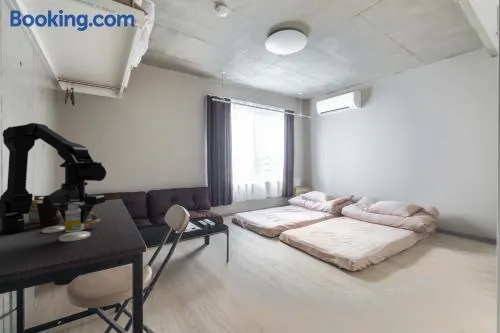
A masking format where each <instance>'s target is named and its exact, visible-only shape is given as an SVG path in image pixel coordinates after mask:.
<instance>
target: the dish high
mask: <svg viewBox="0 0 500 333" xmlns="http://www.w3.org/2000/svg"><path fill="white" fill-rule="evenodd" d="M62 231H65V225H54V226H47V227H43V229H42V228H41V233H43V234H54V233H59V232H62Z"/></svg>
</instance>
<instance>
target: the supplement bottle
mask: <svg viewBox="0 0 500 333" xmlns="http://www.w3.org/2000/svg"><path fill="white" fill-rule="evenodd" d="M79 205H83V202H72V203H69V204H68V208H69V209H68V210H66V212H65V222H64V226H65V230H64V231H65V232H66V233H72V232H79V231H83V230H85V229H84V224H85V222H84V223H81V209H80V208H79Z"/></svg>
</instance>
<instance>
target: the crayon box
mask: <svg viewBox="0 0 500 333" xmlns="http://www.w3.org/2000/svg"><path fill="white" fill-rule="evenodd" d="M45 196H46V195H33V197H34V198H33V199H32V202H33V204H31V207H30V211H29V213H28V223H31V224H36V223H37V224H38V223H39V224H40V220H39V214H38V208H37V202H39V201H43V198H44V197H45Z"/></svg>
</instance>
